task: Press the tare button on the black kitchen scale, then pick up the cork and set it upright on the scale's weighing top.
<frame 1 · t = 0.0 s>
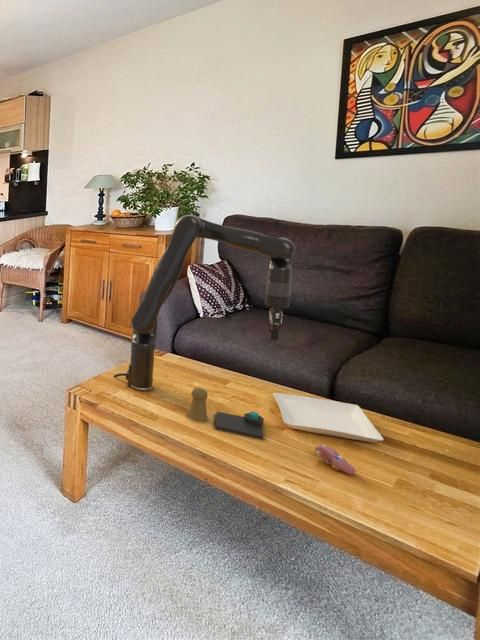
hand: (273, 336, 173), 29 cm above the table, tool pointing down, fingers open, 8 cm apart
pink tapered lump: (333, 467, 143), on the table
square plate: (321, 423, 170), on the table
tare button: (253, 415, 167), point 4 cm above the table, slide at 0.2 cm
scale: (238, 426, 167), on the table
cork: (197, 418, 173), on the table
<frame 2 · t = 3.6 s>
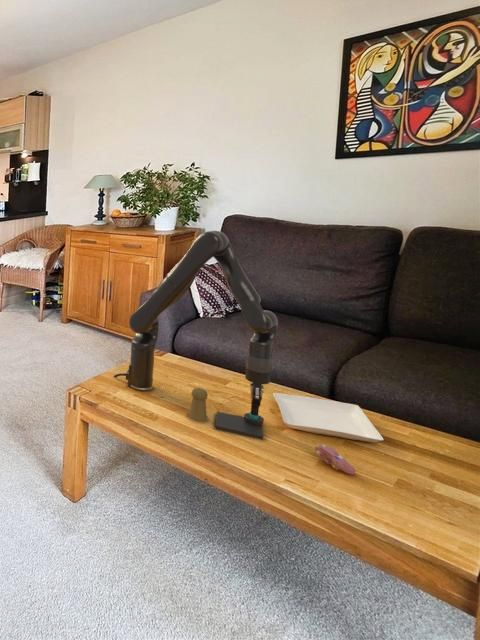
hand: (254, 414, 167), 4 cm above the table, tool pointing down, fingers closed
tare button: (253, 416, 168), point 3 cm above the table, slide at -0.2 cm, touching gripper
everything else where it was.
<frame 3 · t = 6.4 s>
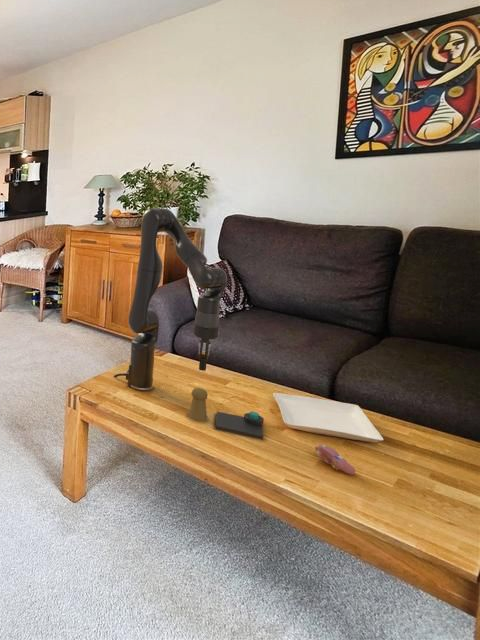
hand: (202, 369, 170), 18 cm above the table, tool pointing down, fingers closed
tare button: (253, 415, 167), point 4 cm above the table, slide at 0.1 cm
everything else where it was.
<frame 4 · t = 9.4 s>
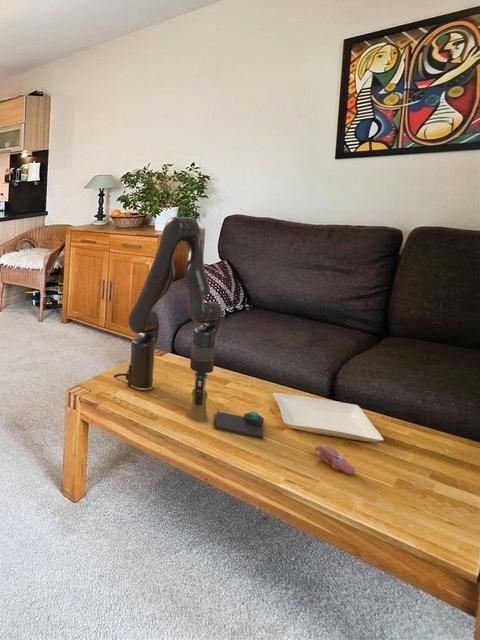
hand: (199, 401, 172), 6 cm above the table, tool pointing down, fingers closed on cork, 5 cm apart
cork: (197, 418, 173), on the table, touching gripper
everything else where it was.
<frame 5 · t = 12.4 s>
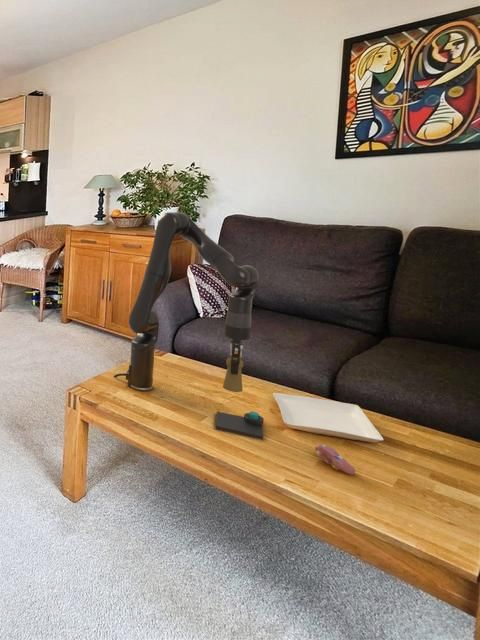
hand: (234, 370, 164), 21 cm above the table, tool pointing down, fingers closed on cork, 5 cm apart
cork: (232, 388, 165), point 14 cm above the table, touching gripper
everything else where it was.
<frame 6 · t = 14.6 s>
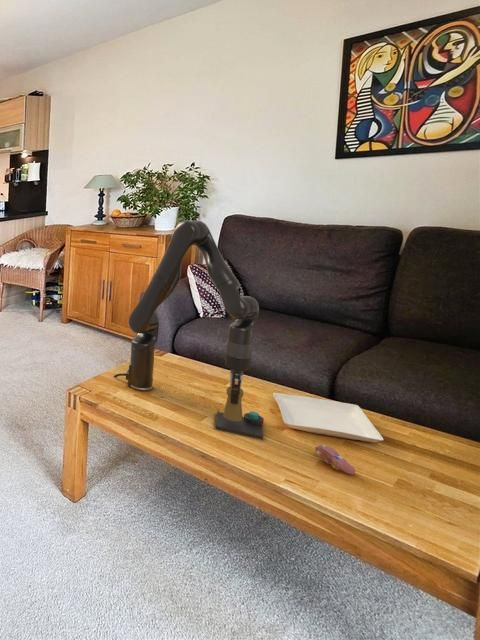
hand: (234, 399, 165), 10 cm above the table, tool pointing down, fingers closed on cork, 5 cm apart
cork: (232, 417, 166), point 3 cm above the table, touching gripper
everything else where it was.
when the fingers open (8 cm above the table, at t = 15.8 s): cork stays where it is, resting on scale.
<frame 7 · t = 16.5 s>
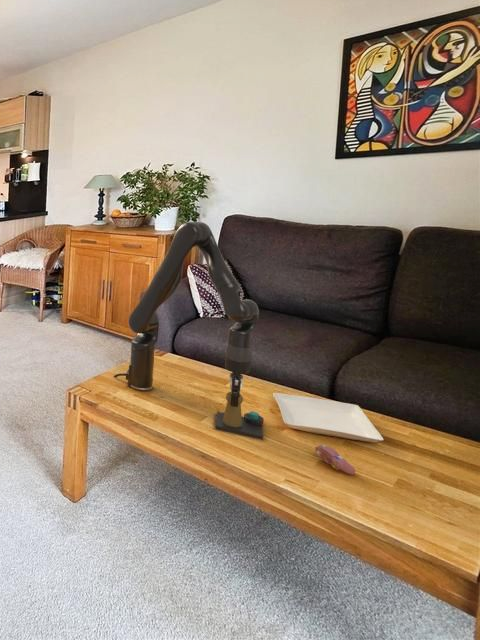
hand: (234, 401, 165), 10 cm above the table, tool pointing down, fingers open, 8 cm apart
cork: (232, 423, 167), point 1 cm above the table, touching scale
everything else where it was.
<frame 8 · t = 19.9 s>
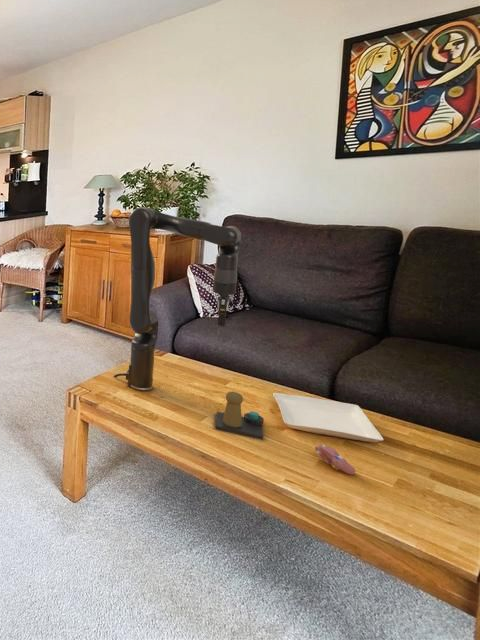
hand: (221, 322, 178), 33 cm above the table, tool pointing down, fingers open, 8 cm apart
nothing on the table moved.
at the end: tare button pushed in 0.9 cm at the most during the clip and back out by the end; cork inside the target area on the scale (0.6 cm from its centre), point 1.2 cm above the scale's base; cork touching scale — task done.
